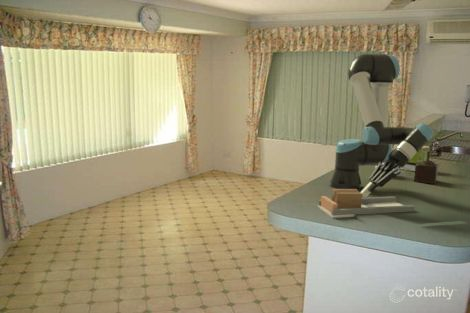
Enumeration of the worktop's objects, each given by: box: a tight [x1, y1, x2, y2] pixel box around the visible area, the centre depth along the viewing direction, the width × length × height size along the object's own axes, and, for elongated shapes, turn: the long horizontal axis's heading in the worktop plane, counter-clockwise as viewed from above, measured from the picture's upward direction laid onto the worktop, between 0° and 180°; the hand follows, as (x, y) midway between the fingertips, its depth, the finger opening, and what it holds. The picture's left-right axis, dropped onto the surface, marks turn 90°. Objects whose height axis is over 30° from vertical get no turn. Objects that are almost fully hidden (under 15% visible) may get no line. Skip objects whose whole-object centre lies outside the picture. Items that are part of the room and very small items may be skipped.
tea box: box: [399, 145, 431, 172], centre depth 248 cm, size 15×10×15 cm
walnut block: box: [331, 188, 363, 209], centre depth 169 cm, size 7×10×7 cm
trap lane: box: [317, 195, 416, 219], centre depth 170 cm, size 14×36×5 cm, turn 103°
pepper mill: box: [413, 146, 444, 185], centre depth 222 cm, size 16×11×18 cm
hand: (362, 195), depth 169 cm, fingers closed
